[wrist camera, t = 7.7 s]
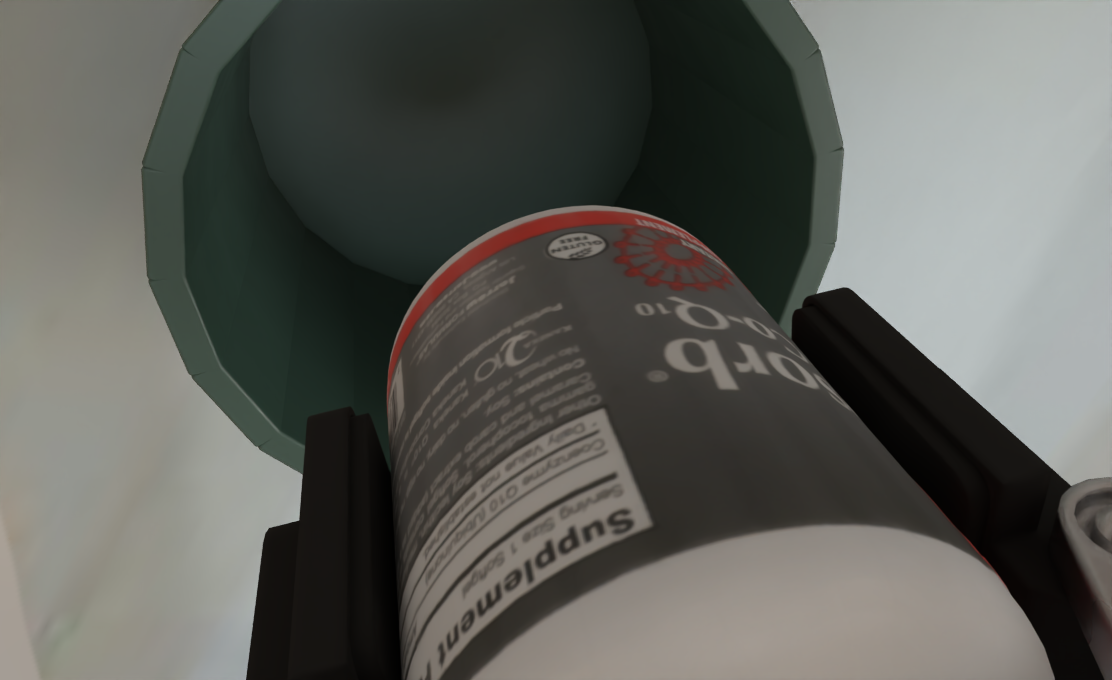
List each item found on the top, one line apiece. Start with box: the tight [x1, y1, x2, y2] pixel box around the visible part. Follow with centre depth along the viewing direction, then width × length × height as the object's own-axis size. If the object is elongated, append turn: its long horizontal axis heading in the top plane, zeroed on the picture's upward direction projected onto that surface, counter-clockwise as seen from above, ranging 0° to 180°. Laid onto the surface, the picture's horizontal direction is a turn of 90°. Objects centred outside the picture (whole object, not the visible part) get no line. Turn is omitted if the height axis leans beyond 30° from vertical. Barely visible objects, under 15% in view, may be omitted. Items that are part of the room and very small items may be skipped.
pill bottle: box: [387, 205, 1055, 680], centre depth 9 cm, size 6×6×10 cm
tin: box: [141, 0, 844, 474], centre depth 22 cm, size 14×14×12 cm
